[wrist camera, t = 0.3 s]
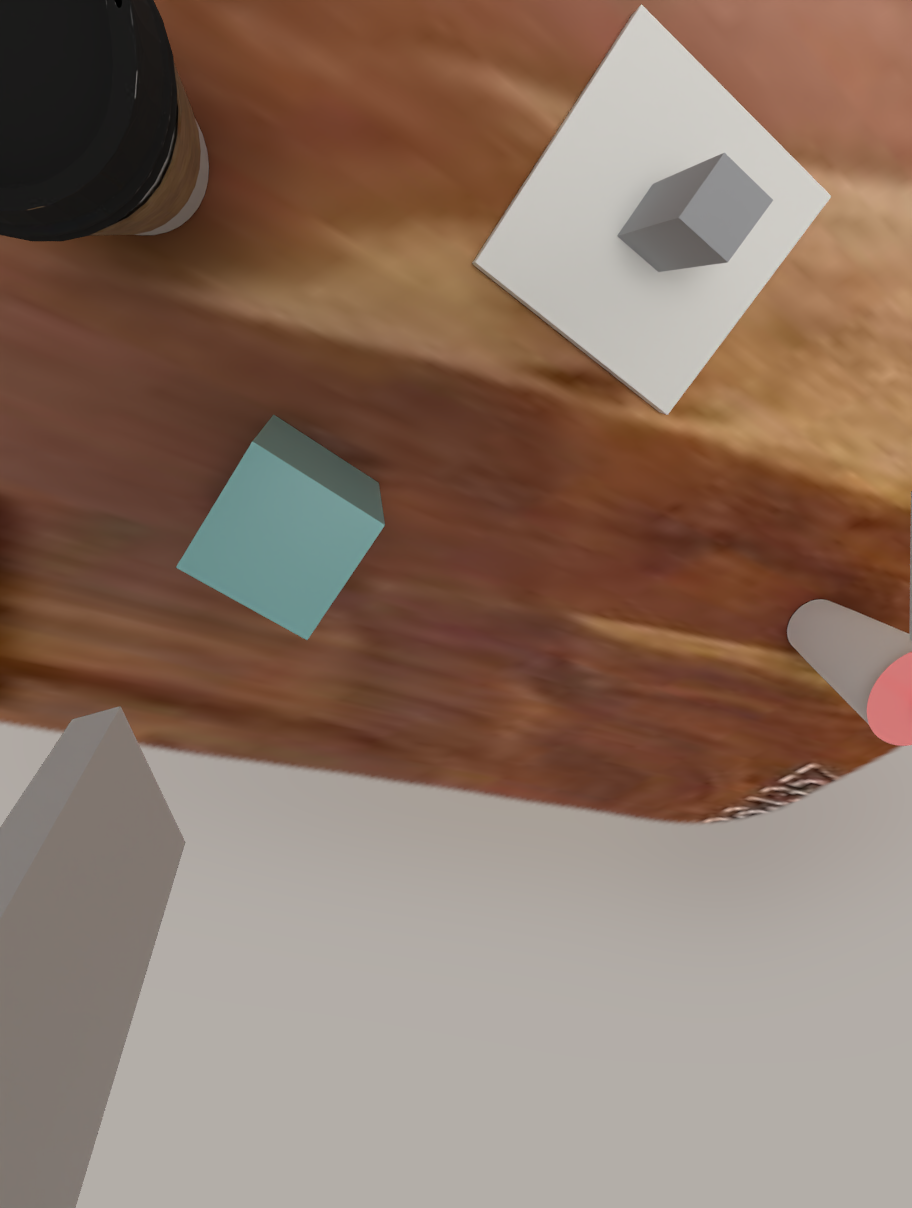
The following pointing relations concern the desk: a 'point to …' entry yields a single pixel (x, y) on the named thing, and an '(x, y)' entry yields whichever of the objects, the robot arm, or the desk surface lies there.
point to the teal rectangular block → (287, 529)
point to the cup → (859, 664)
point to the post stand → (651, 216)
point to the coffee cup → (93, 122)
